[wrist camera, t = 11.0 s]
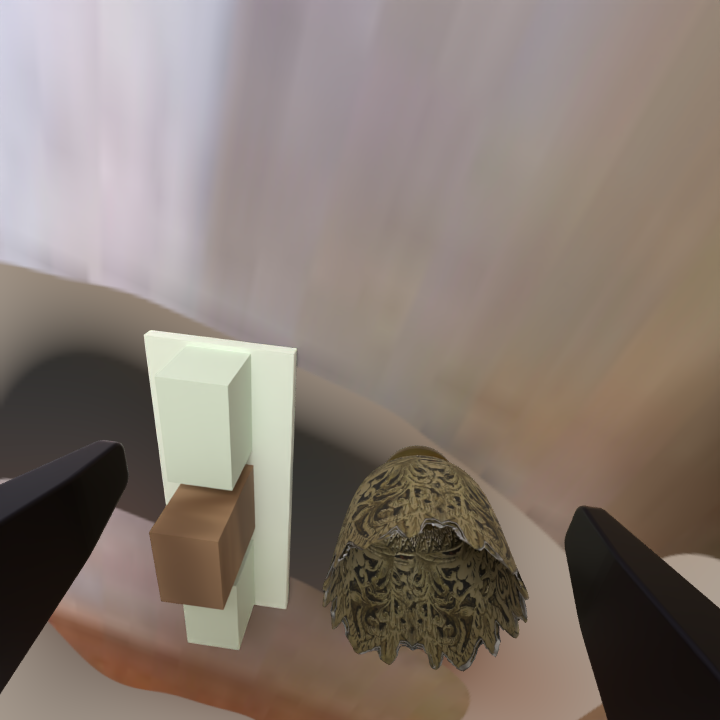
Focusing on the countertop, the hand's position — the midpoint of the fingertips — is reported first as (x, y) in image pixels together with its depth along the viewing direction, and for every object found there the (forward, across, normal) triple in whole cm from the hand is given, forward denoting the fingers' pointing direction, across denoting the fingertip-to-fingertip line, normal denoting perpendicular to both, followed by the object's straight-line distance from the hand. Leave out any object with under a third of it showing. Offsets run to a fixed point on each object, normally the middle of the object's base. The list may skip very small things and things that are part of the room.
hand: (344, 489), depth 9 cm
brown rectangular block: (+11, +7, +12) cm, 18 cm away
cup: (+12, -3, +9) cm, 15 cm away
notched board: (+12, +7, +12) cm, 18 cm away
